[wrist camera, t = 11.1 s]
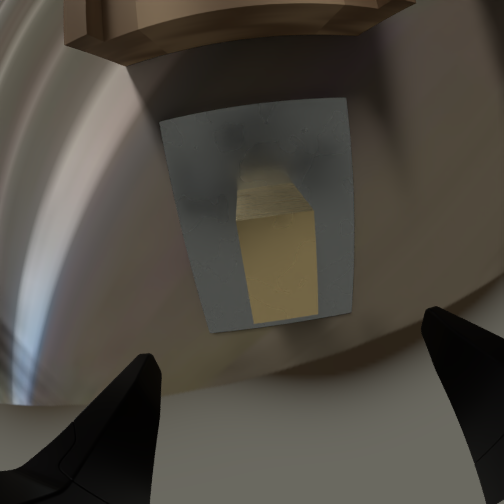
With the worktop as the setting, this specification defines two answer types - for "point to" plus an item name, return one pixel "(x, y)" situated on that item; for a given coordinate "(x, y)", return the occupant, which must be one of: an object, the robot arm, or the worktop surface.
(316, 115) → the cover plate
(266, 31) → the walnut box
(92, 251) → the worktop surface
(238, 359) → the worktop surface
